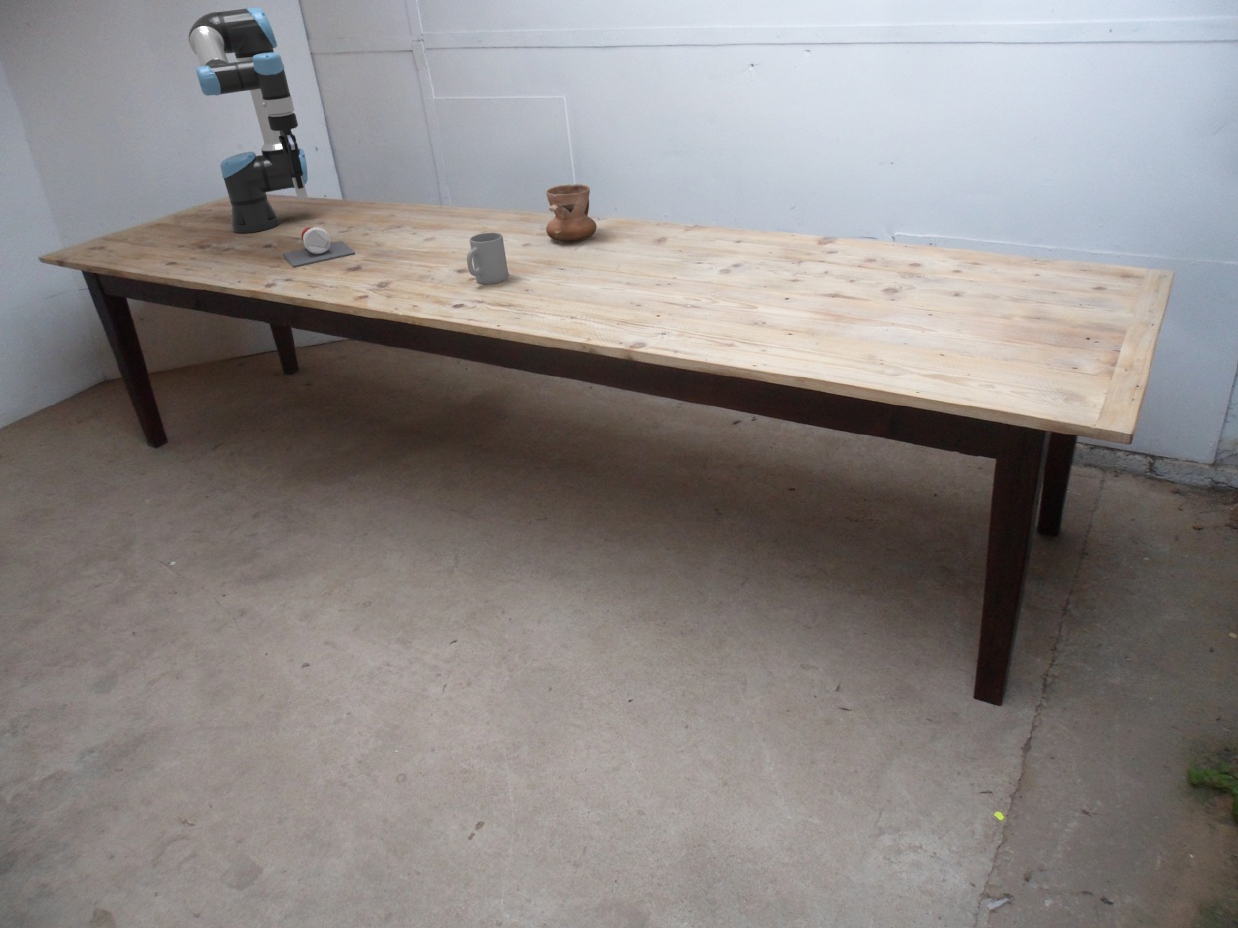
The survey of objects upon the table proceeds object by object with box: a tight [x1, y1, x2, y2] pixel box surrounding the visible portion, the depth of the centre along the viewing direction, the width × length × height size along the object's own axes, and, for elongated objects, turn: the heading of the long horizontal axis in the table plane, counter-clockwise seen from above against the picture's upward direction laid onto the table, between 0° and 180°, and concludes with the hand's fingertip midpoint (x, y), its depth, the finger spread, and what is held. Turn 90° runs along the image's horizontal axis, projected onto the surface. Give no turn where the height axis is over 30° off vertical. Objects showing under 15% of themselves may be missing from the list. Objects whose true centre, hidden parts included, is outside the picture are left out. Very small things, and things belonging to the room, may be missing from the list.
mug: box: [466, 232, 509, 285], centre depth 233 cm, size 12×8×11 cm
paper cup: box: [300, 226, 332, 254], centre depth 272 cm, size 8×8×14 cm
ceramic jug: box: [545, 183, 597, 243], centre depth 259 cm, size 18×14×14 cm
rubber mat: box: [282, 240, 356, 268], centre depth 271 cm, size 16×18×1 cm
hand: (302, 198), depth 266 cm, fingers closed
